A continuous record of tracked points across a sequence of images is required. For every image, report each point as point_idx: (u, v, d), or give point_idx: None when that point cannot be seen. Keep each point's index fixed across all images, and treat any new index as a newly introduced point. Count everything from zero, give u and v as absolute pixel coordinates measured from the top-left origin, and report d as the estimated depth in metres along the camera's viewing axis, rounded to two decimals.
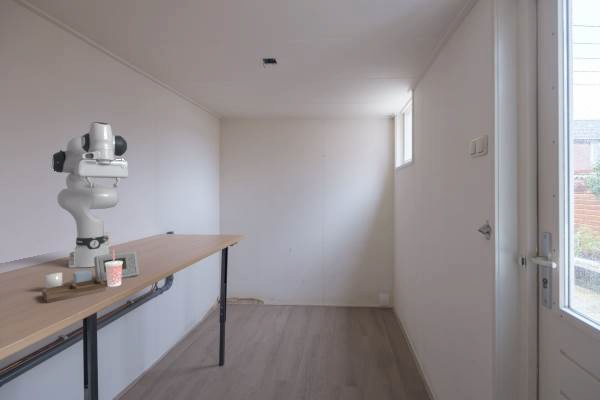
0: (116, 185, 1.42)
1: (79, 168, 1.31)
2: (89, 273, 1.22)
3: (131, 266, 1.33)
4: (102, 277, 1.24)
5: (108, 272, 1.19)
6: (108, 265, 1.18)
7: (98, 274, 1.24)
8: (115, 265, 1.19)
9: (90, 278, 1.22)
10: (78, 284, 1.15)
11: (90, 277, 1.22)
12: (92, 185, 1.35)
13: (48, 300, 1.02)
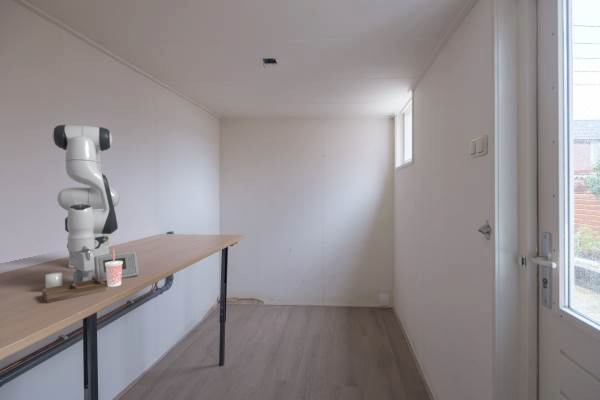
0: (82, 279, 1.20)
1: None
2: (89, 273, 1.22)
3: (131, 266, 1.32)
4: (102, 277, 1.24)
5: (109, 272, 1.19)
6: (108, 265, 1.18)
7: (98, 274, 1.24)
8: (115, 265, 1.19)
9: (90, 278, 1.22)
10: (78, 284, 1.15)
11: (90, 277, 1.22)
12: None
13: (48, 300, 1.02)
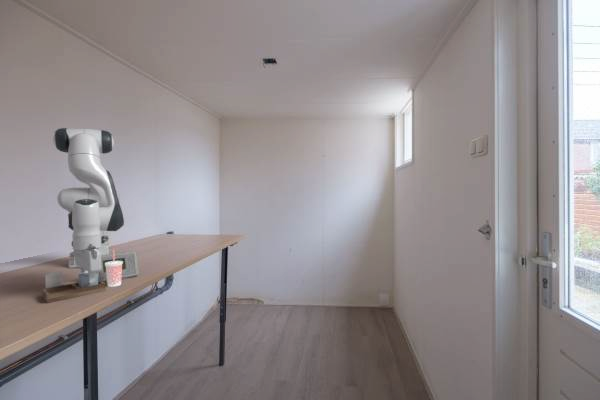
0: (88, 280, 1.11)
1: None
2: (95, 275, 1.14)
3: (130, 266, 1.32)
4: (101, 277, 1.24)
5: (108, 272, 1.19)
6: (108, 265, 1.18)
7: None
8: (115, 265, 1.19)
9: (96, 281, 1.14)
10: (78, 284, 1.15)
11: (96, 280, 1.14)
12: None
13: (48, 300, 1.02)
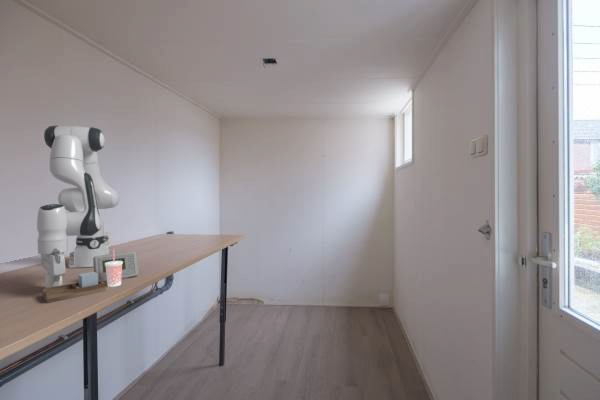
0: None
1: None
2: (95, 275, 1.14)
3: (130, 267, 1.32)
4: (101, 277, 1.24)
5: (108, 272, 1.19)
6: (108, 265, 1.18)
7: None
8: (115, 265, 1.19)
9: (96, 281, 1.14)
10: (78, 284, 1.15)
11: (96, 280, 1.14)
12: None
13: (48, 300, 1.02)
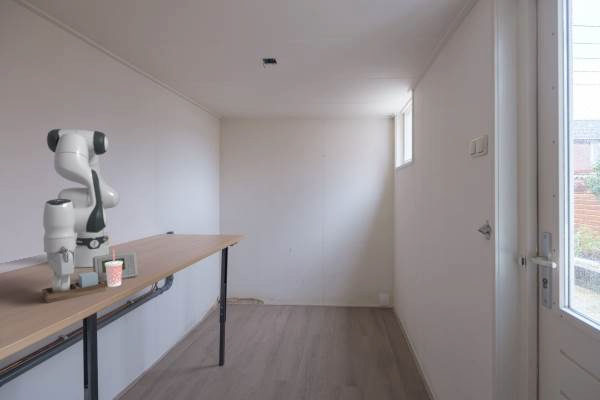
0: (61, 285, 1.04)
1: None
2: (95, 275, 1.14)
3: (130, 267, 1.31)
4: (100, 278, 1.23)
5: (108, 272, 1.19)
6: (108, 265, 1.18)
7: None
8: (115, 265, 1.19)
9: (96, 281, 1.14)
10: (78, 284, 1.15)
11: (96, 280, 1.14)
12: None
13: (48, 300, 1.02)
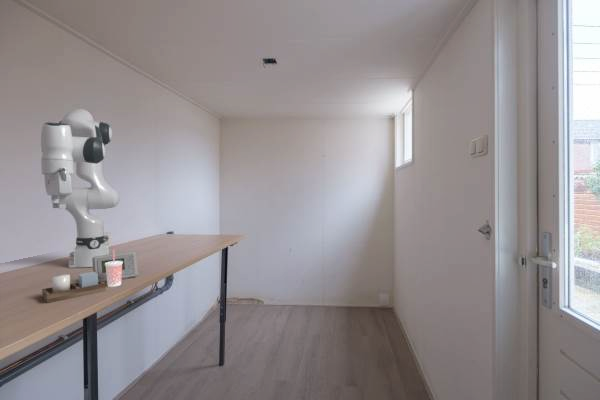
0: (58, 206, 1.04)
1: None
2: (95, 275, 1.14)
3: (130, 267, 1.31)
4: (100, 278, 1.23)
5: (108, 272, 1.19)
6: (108, 265, 1.18)
7: None
8: (115, 265, 1.19)
9: (96, 281, 1.14)
10: (78, 284, 1.15)
11: (96, 280, 1.14)
12: (53, 205, 1.10)
13: (48, 300, 1.02)
